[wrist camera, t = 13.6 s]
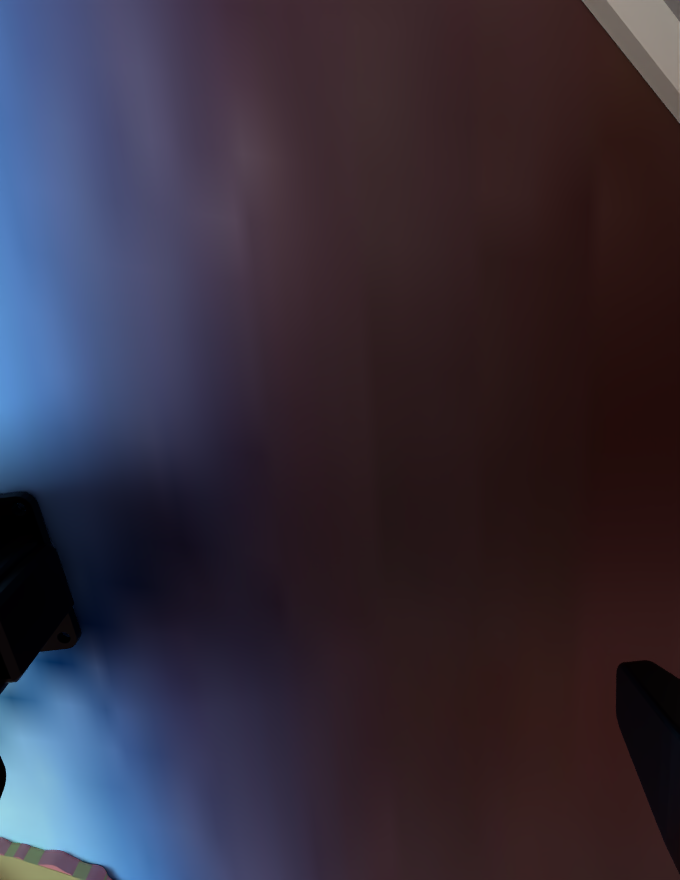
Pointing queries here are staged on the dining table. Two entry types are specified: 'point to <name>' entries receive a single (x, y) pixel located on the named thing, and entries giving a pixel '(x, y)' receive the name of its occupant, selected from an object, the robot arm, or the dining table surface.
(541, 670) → the dining table surface
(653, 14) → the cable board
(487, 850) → the dining table surface
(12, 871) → the candy landscape model
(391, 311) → the dining table surface
